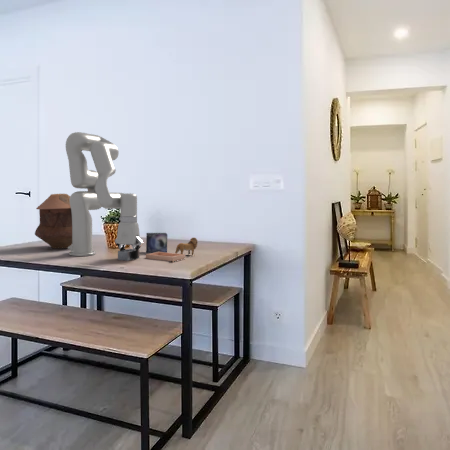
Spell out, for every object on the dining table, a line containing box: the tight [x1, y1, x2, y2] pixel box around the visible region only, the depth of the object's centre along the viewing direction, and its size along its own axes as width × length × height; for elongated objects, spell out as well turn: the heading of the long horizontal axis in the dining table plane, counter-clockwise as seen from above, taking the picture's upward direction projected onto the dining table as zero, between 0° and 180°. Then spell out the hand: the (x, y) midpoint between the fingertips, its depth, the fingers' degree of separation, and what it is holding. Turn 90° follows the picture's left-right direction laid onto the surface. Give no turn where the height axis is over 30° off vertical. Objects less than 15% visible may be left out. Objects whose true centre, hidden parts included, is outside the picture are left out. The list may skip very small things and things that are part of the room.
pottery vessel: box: [34, 193, 72, 249], centre depth 224 cm, size 26×26×30 cm
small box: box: [145, 232, 168, 254], centre depth 213 cm, size 11×6×10 cm, turn 105°
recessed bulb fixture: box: [117, 248, 140, 262], centre depth 190 cm, size 6×9×4 cm, turn 154°
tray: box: [145, 251, 186, 263], centre depth 194 cm, size 15×10×2 cm
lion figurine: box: [174, 237, 199, 256], centre depth 206 cm, size 15×5×9 cm, turn 138°
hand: (128, 257), depth 190 cm, fingers open, 6 cm apart
